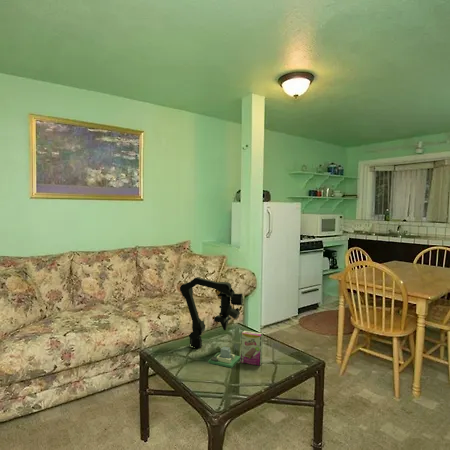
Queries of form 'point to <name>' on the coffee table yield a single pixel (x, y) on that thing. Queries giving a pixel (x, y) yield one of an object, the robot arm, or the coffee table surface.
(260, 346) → the candy bar box
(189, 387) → the coffee table surface
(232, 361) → the board
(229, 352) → the plug
